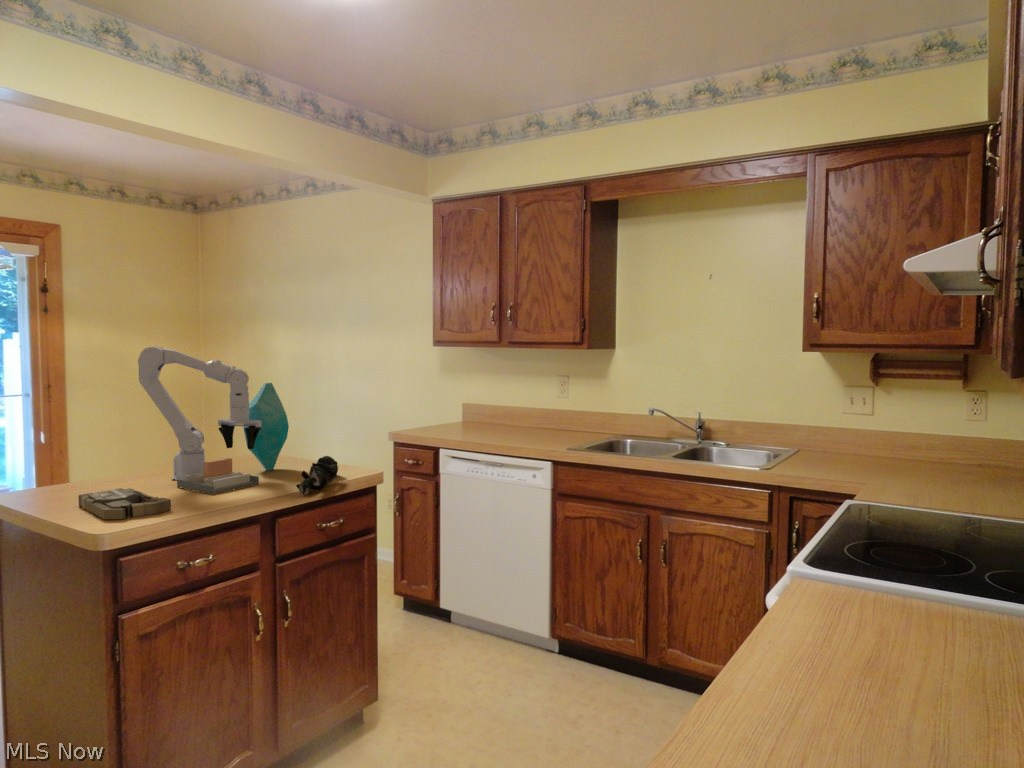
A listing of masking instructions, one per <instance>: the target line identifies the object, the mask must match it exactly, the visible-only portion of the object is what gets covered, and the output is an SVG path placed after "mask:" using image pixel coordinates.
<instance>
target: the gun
mask: <svg viewBox="0 0 1024 768" xmlns="http://www.w3.org/2000/svg"><path fill="white" fill-rule="evenodd" d="M171 500H172V499H170V498H168V497H167V498H166V497H158V496H155V497H154V496H152V495H148V494H146V493H144V492H142V491H139V490H136V489H133V488H131V487H130V488H126V489H125V488H123V487H121V488H115V489H108V490H104V491H103V490H102V491H97V492H94V493H93V492H90V493H88V492H87V493H82V494H81V493H80V494H79V495H78V506H79V507H80V506H81V507H80V508H82V507H83V508H82V509H84V508H85V509H84V510H85V511H87V510H88V512H89V511H90V512H89V513H91V512H92V513H91V514H93V513H94V515H96V516H98V517H99V518H101V519H102V520H124V519H126V518H125V517H130V518H131V517H132V518H134V517H141V516H151V515H157V514H162V513H165V512H169V511H171V510H172V502H171ZM168 510H169V511H168Z"/></svg>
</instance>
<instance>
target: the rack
mask: <svg viewBox="0 0 1024 768" xmlns="http://www.w3.org/2000/svg"><path fill="white" fill-rule="evenodd" d="M186 477H187V480H184V479H177V480H176V488H178V487H182V488H181V489H183V488H186V489H185V490H187V489H190V490H189V491H192V490H195V491H194V492H196V491H199V492H198V493H201V492H204V493H203V494H206V493H208V494H207V495H210V494H212V495H215V494H214V493H217V494H221V493H220V492H222V493H225V492H224V491H227V492H229V491H228V490H231V491H234V490H233V489H236V490H239V489H238V488H241V489H243V488H242V487H245V488H248V487H247V486H250V487H253V486H252V485H255V486H258V484H260V481H259V478H260V477H259V476H257V475H252V474H251V475H250V473H242V472H240V471H237V472H236V471H235V472H234V471H232V474H226V475H221V476H216V477H210V478H205V479H204V474H203V473H197V474H191V475H186Z"/></svg>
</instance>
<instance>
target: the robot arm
mask: <svg viewBox="0 0 1024 768" xmlns="http://www.w3.org/2000/svg"><path fill="white" fill-rule="evenodd" d="M137 363H138V382H139V383H140V385H141V387H142V388H143V389H144V391H145V392H146V393H147V395H148V396H149V398H150V399H151V400H152V402H153V403H154V405H155V406H156V407H157V409H158V410H159V412H160V413H161V414H162V416H163V417H164V418H165V421H167V423H168V425H170V427H171V428H172V429H173V433H174V435H175V437H176V439H177V441H178V447H179V451H178V452H176V454H175V455H174V457H173V462H172V463H173V477H171V478H170V479H171V480H173V479H175V480H174V481H177V479H184V480H187V477H186V475H191V474H197V473H203V462H204V461H206V460H205V457H206V456H205V455H206V454H205V449H204V447H202V445H203V444H204V442H205V435H204V433H203V432H202V431H201V430H199V429H197V428H196V427H195V426H194V425H193V424H192V423H191V422H190V421H189V420H188V418H186V416H185V415H184V413H183V412H182V410H181V408H180V407H179V406H178V405H177V403H176V401H174V399H173V397H172V395H170V393H169V392H168V391H167V389H166V388H165V386H164V385H163V384H162V382H161V380H160V379H159V377H160V374H161V371H162V368H163V367H164V366H165V365H170V364H179V365H181V366H185V367H188V368H191V369H194V370H198V371H200V372H203V374H204V376H205V378H208V379H211V380H215V381H217V382H219V383H222V384H229V388H230V392H229V419H228V418H227V419H226V418H223V419H222V418H221V419H218V420H217V426H218V431H219V432H220V434H221V436H222V437H223V439H224V442H225V447H226V449H231V448H233V447H234V442H233V440H234V431H235V428H236V427H243V426H247V427H248V428H245V431H246V435H247V443H246V446H248V448H247V450H249V449H253V448H254V443H255V440H256V437H257V435H258V433H259V431H260V429H261V427H262V421H258V420H249V403H250V398H249V397H250V396H249V394H250V393H249V385H248V383H249V380H250V378H249V375H248V373H247V371H245V370H244V369H241V368H237V366H234V365H231V366H230V365H229V364H228V365H227V364H225V363H223V362H222V360H219V359H216V360H213V359H212V360H210V361H204V360H201V359H199V358H198V357H197V358H196V357H194V356H191V355H188V354H186V353H184V352H181V351H178V350H175V349H172V348H171V349H170V348H164V347H161V346H157V345H156V346H147V347H145V348H143V350H141V352H140V354H139V357H138V359H137Z"/></svg>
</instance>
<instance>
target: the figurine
mask: <svg viewBox="0 0 1024 768" xmlns="http://www.w3.org/2000/svg"><path fill="white" fill-rule="evenodd" d="M338 471H339V465H338V461H336V460H335V459H334V458H333V457H331V456H329V455H326V456H325V455H324V456H322V457H319V458H318V459H317V462H316V463H315V462H312V463H311V466H310V468H309V474H308V472H307V471H305V470H303V471H302V472H301V476H302V477H303V480H302V482H301V483H298V484H296V485H295V486H296V488H297V489H298V491H299V492H300V493H301V494H302V495H308V494H309V493H310V491H320V490H323V489H324V488H325V487H326V486H327V485H328V481H329V482H332V481H333V480H335V478H337V474H338Z"/></svg>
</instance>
